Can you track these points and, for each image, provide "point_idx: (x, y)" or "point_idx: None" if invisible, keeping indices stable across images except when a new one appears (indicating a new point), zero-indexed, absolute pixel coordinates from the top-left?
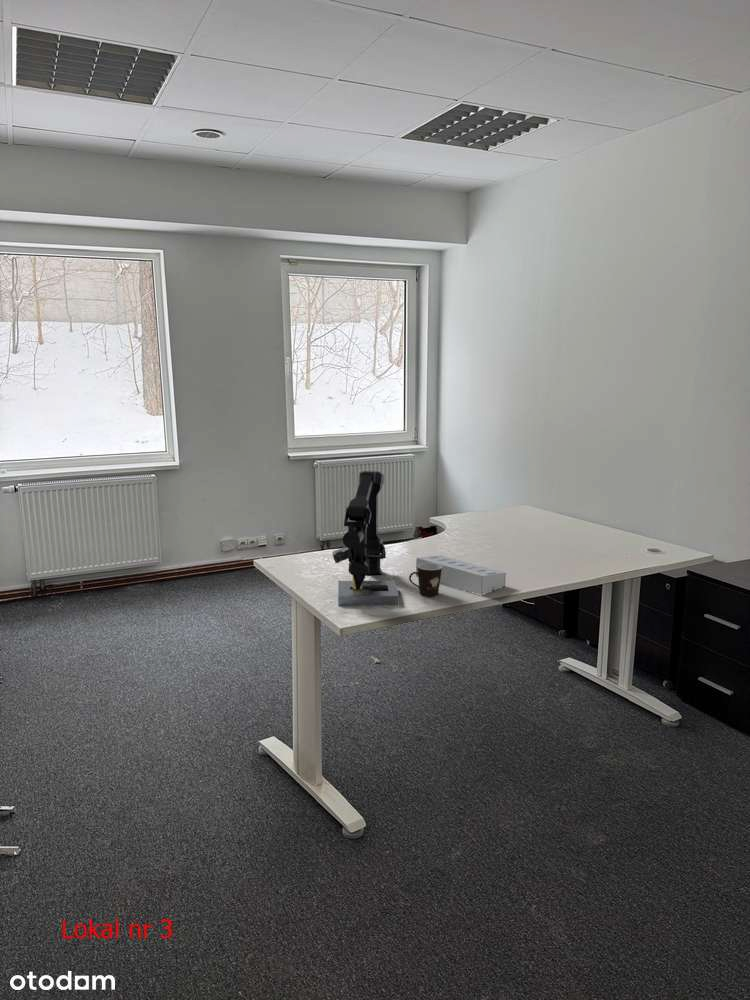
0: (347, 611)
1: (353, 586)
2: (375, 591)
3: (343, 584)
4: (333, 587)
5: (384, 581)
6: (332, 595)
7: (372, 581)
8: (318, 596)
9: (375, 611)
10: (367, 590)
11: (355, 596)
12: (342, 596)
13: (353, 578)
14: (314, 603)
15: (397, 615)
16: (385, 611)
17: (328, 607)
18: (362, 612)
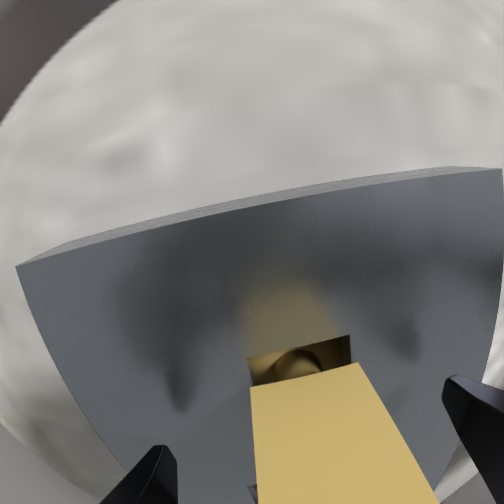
0: (11, 323)
1: (252, 414)
2: (243, 500)
3: (421, 241)
4: (473, 125)
5: (434, 472)
6: (302, 128)
7: (452, 432)
8: (248, 18)
9: (84, 448)
10: (255, 471)
11: (82, 410)
12: (30, 307)
13: (258, 501)
14: (78, 46)
15: (94, 495)
16: (107, 476)
17: (20, 180)
18: (40, 398)
